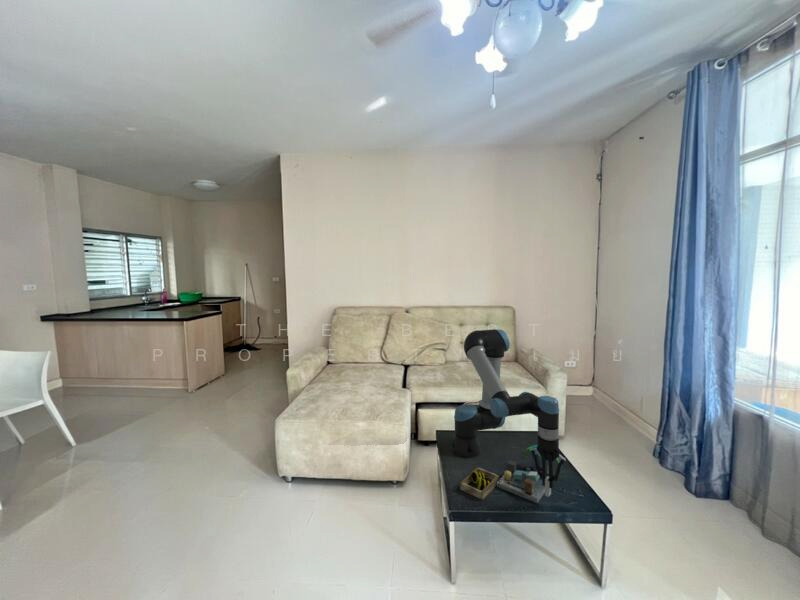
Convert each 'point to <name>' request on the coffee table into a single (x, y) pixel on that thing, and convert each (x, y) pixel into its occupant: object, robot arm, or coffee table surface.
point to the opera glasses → (479, 480)
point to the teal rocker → (529, 475)
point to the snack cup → (539, 458)
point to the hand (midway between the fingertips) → (548, 494)
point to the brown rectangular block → (529, 485)
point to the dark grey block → (512, 466)
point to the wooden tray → (476, 492)
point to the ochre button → (507, 475)
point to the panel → (522, 487)
